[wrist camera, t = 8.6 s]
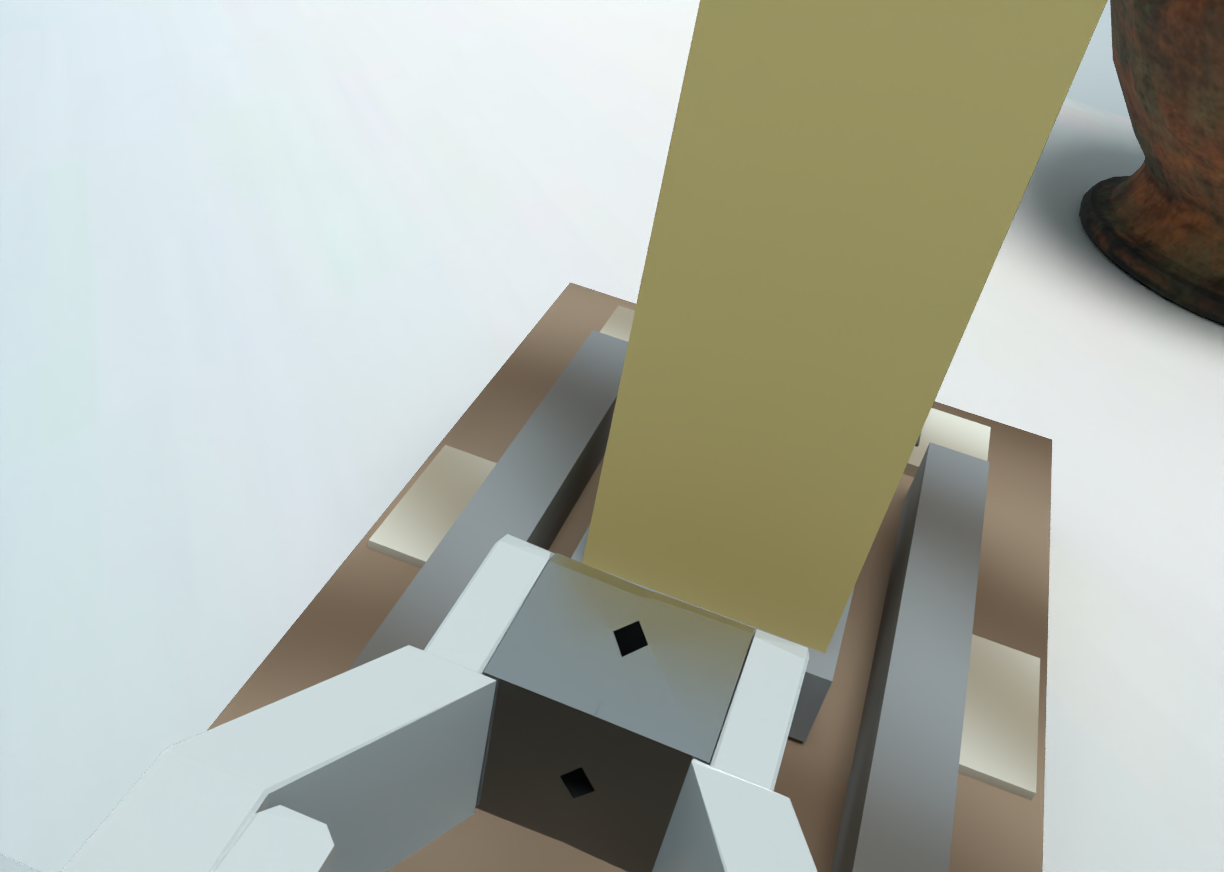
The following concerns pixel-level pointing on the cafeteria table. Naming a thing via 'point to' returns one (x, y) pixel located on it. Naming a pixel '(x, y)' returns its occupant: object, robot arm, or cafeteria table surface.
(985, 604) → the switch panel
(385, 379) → the cafeteria table surface
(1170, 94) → the brown vase
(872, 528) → the slider tab
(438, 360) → the cafeteria table surface
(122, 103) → the cafeteria table surface
